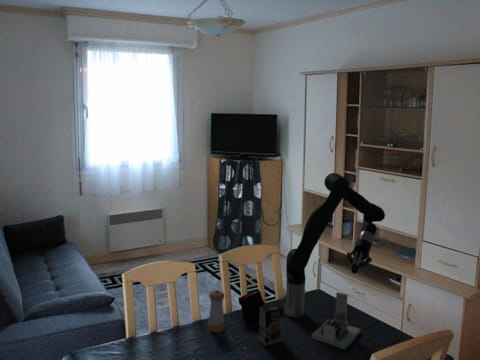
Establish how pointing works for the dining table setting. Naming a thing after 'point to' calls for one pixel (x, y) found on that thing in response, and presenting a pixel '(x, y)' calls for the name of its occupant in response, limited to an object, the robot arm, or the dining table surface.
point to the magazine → (251, 305)
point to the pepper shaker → (216, 311)
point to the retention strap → (341, 306)
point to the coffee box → (271, 324)
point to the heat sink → (337, 329)
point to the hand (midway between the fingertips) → (353, 272)
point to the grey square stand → (330, 334)
